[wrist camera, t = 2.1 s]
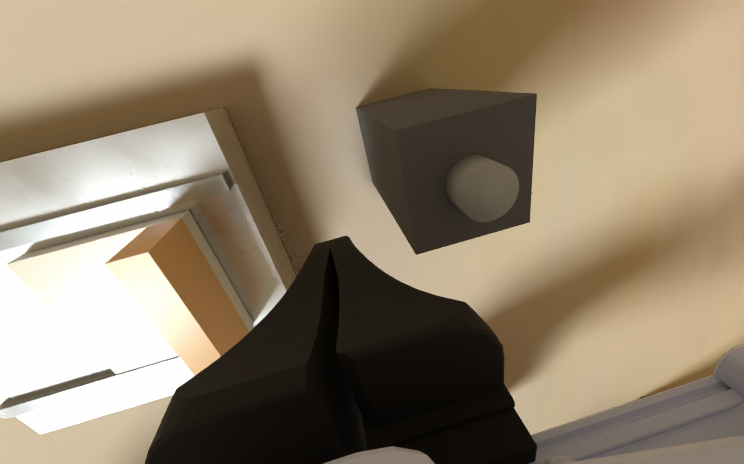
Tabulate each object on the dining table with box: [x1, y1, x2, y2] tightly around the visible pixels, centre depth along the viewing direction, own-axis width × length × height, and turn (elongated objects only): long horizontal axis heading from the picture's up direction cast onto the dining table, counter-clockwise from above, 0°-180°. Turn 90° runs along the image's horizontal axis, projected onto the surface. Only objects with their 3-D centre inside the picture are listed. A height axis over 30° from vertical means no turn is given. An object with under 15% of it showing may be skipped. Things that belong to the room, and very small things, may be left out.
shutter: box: [6, 210, 254, 376], centre depth 11 cm, size 6×6×3 cm
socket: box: [0, 107, 297, 434], centre depth 13 cm, size 12×14×3 cm
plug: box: [356, 89, 537, 255], centre depth 10 cm, size 4×4×8 cm
